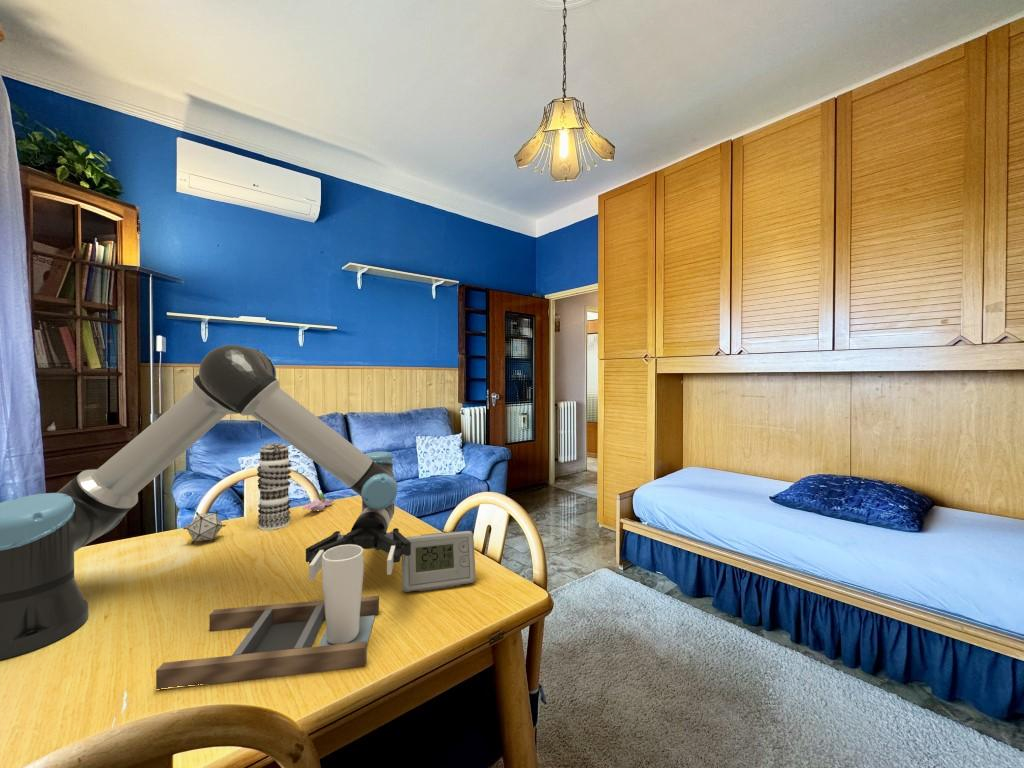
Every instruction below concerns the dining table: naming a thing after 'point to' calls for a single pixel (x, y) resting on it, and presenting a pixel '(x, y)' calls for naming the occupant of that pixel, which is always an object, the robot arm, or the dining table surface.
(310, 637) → the tray
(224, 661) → the brown wooden divided tray
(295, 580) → the dining table surface
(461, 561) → the digital clock
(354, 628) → the drinking glass
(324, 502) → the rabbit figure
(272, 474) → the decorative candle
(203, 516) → the game die
